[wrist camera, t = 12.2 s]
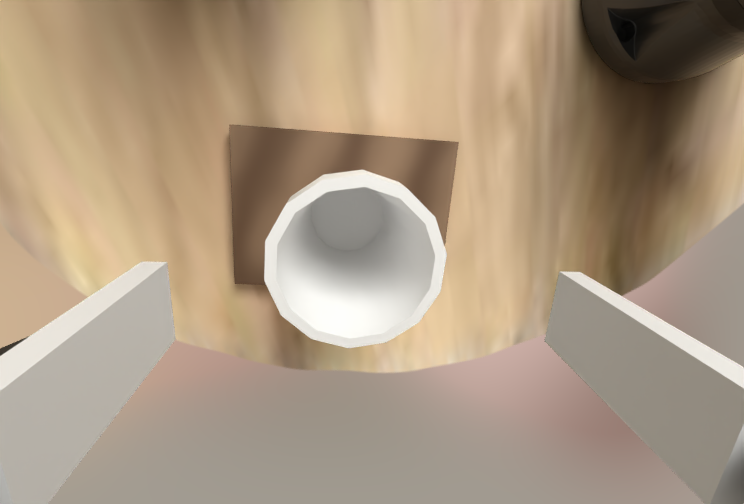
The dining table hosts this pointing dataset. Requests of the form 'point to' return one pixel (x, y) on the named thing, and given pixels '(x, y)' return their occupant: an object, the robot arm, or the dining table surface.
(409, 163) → the walnut board
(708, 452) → the robot arm
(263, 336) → the dining table surface
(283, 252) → the foam cup
